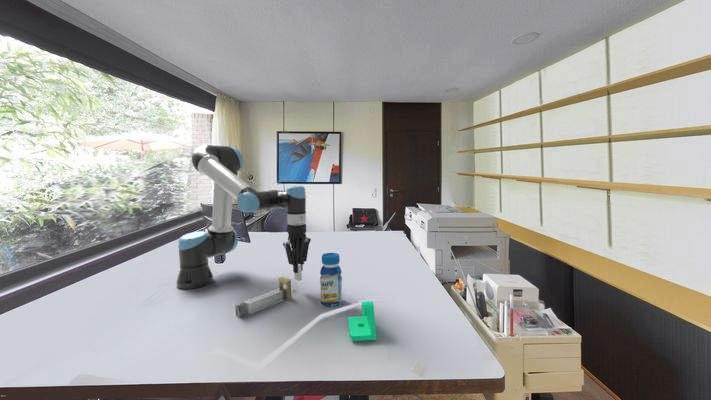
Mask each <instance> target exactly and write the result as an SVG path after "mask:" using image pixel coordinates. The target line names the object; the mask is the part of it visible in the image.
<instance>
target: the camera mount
mask: <svg viewBox="0 0 711 400" xmlns="http://www.w3.org/2000/svg"><path fill="white" fill-rule="evenodd" d="M361 311H362V313H361V314H362V315H358V316H357V315H356V316H348V317H347V324H348V332H349V338H350V340H351V342H359V341H374V340H375V341H376V340H377V331H376V330H377V329H376V315H375V307H374V301H373V300H367V301H366V300H365V301H364V300H363V301H361Z"/></svg>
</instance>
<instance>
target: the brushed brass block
mask: <svg viewBox="0 0 711 400" xmlns="http://www.w3.org/2000/svg"><path fill="white" fill-rule="evenodd" d="M277 279H278V289H279V290H283V289H286V296H287V300H286V301H287V302H289V301H290V300H292V297H293V296H292V279H290V278H288V277H284V276H280V277H278V278H277Z"/></svg>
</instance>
